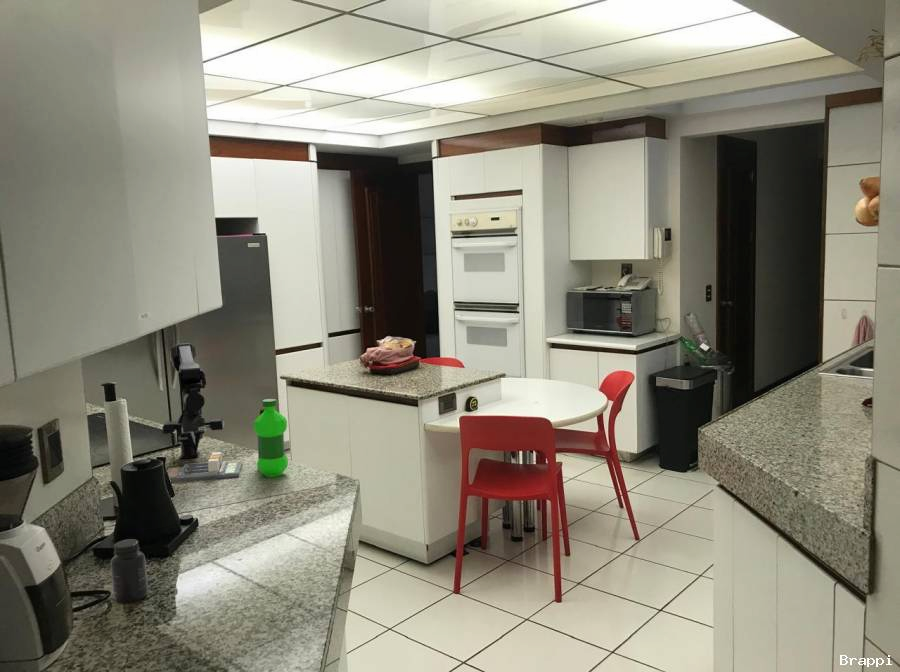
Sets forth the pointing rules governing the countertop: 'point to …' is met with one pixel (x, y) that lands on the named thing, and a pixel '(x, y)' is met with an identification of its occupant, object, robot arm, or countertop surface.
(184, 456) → the robot arm
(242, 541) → the countertop surface
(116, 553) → the supplement bottle
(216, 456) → the block
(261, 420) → the plastic bottle
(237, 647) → the countertop surface
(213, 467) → the block
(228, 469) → the panel
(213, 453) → the block
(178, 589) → the countertop surface
